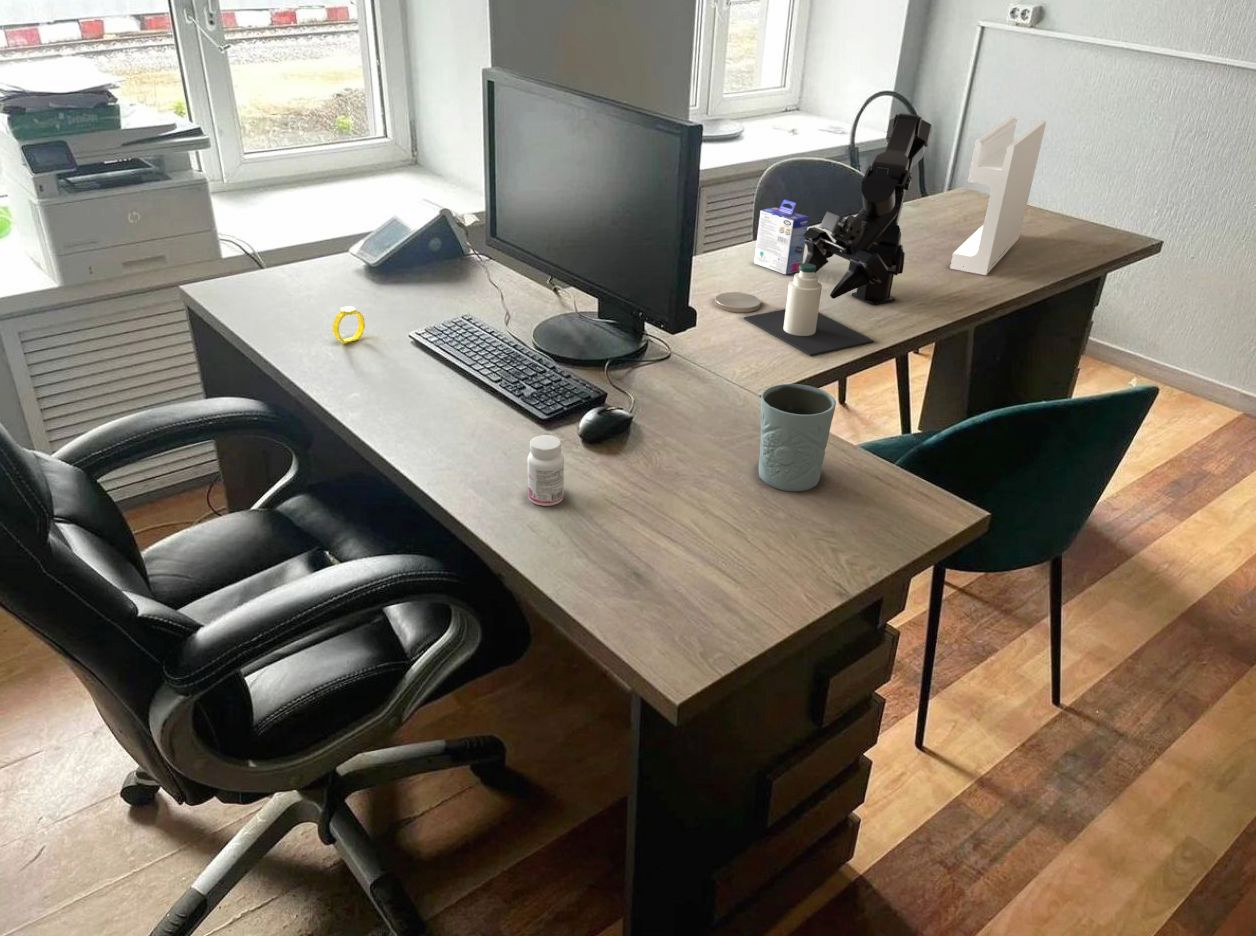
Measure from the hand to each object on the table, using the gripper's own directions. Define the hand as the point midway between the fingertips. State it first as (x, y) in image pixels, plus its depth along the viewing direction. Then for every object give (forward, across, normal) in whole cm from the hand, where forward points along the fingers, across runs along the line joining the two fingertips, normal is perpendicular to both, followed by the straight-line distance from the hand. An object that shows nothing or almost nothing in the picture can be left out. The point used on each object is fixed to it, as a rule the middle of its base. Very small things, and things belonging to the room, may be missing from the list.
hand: (815, 289), depth 186 cm
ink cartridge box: (-6, -32, +18) cm, 37 cm away
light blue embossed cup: (+33, +42, -22) cm, 58 cm away
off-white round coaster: (+9, -17, +2) cm, 19 cm away
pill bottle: (+56, +33, -45) cm, 79 cm away
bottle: (+7, 0, +3) cm, 8 cm away
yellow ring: (+62, -30, -50) cm, 85 cm away
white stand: (-44, -21, +56) cm, 74 cm away
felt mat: (+6, 0, +5) cm, 8 cm away
